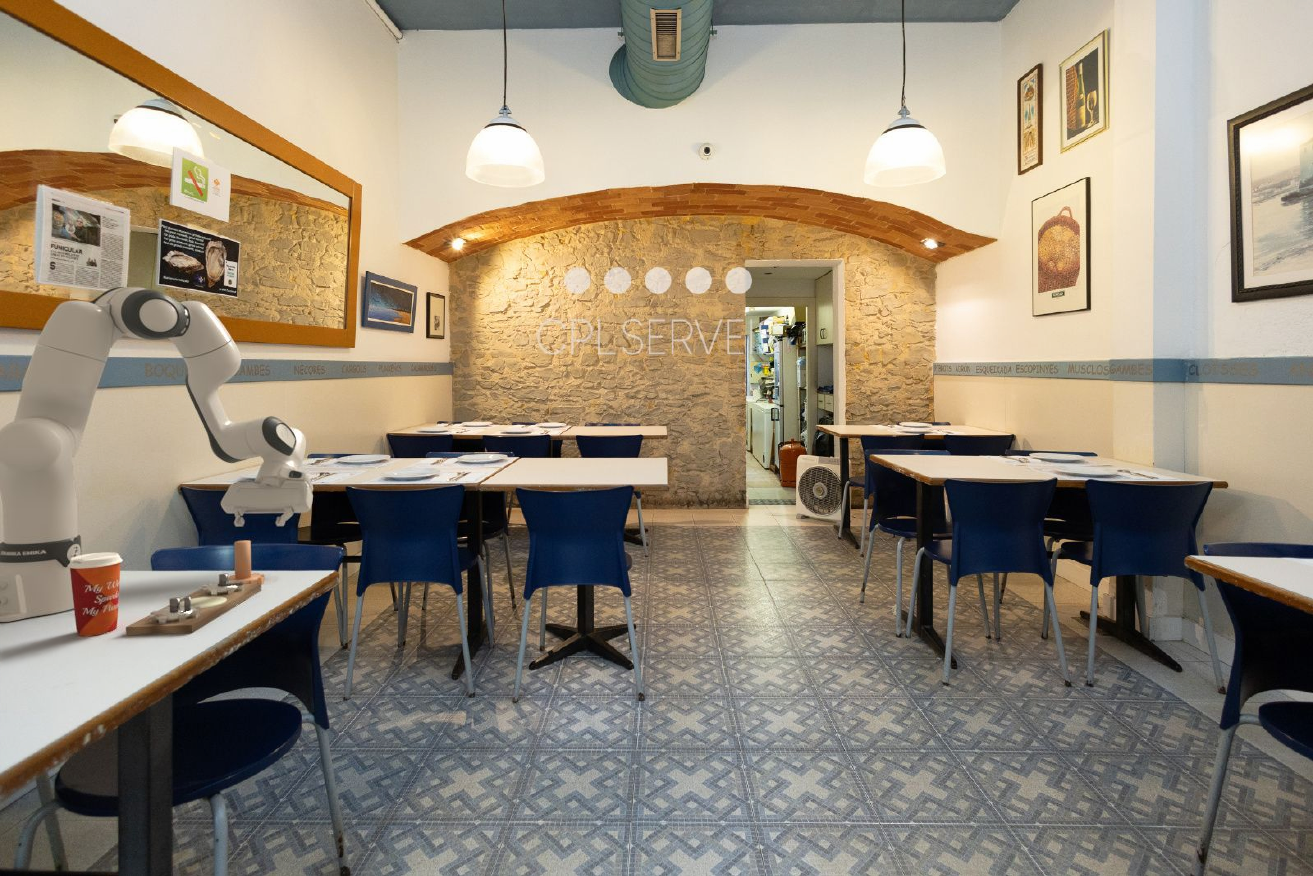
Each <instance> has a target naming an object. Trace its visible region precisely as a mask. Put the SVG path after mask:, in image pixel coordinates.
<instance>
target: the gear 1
mask: <svg viewBox="0 0 1313 876" xmlns="http://www.w3.org/2000/svg"><path fill="white" fill-rule="evenodd" d="M183 598H184V605H183V606H180V599H181V597H171V598H169V605H170V607H166V606H165V608H164V607H163V608H164V609H163V608H161V609H162V610H161V609H159V610H153V611H151V612H150V613H149V615H148V616H149V622H150V623H154V622H158V623H159V624H167V623H170V622H183V621H186V619H190V618H196V617H198V616H199V613H200V606H194V607H193V606H191V597H186V596H184V597H183Z"/></svg>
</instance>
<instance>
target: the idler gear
mask: <svg viewBox="0 0 1313 876" xmlns="http://www.w3.org/2000/svg"><path fill="white" fill-rule="evenodd" d="M251 543H252V541H251V540H237V541H234V543H233V545H234V574H233V575H230V576H228V581H235V582H241V581H243V582H245V584H261V585H263V584H264V583H265V574H260V573H258V572H254V573H252V549H251V548H252V547H251ZM263 582H264V583H263ZM262 583H263V584H262Z"/></svg>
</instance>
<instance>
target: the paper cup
mask: <svg viewBox="0 0 1313 876" xmlns="http://www.w3.org/2000/svg"><path fill="white" fill-rule="evenodd" d="M122 562H123V559H122V558H121V555H120V554H119V553H118V552H109V551H107V552H106V551H105V552H104V551H103V552H94V553H86V554H85V553H84V554H81V555H80V556H76V557H73V558H71V560H70V564H68V566H67V567H68V568H70V574H71V583H72V593H73V603H74V608H73V610H74V620H75V621H74V622H75V627H76V635H77V636H79V637H94V636H95V637H96V636H100V635H105V634H108V633H107V632H109V633H111V631H112V632H114V631H116V630H117V628H118V617H119V599H120V579H121V577H120V576H121V563H122ZM115 629H116V630H115ZM113 630H114V631H113ZM104 633H105V634H104Z"/></svg>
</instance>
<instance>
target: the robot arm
mask: <svg viewBox="0 0 1313 876" xmlns="http://www.w3.org/2000/svg"><path fill="white" fill-rule="evenodd" d="M125 336H126V337H129V338H132V339H137V340H139V339H140V340H149V341H159V340H165V339H168V340H170V341H171V343H172V344H173V345H175V348H176V349H177V351H178V353H179V354H180V355H181V357H182V359H183V361H184V362H185V365H186V367H187V372H188V373H187V374H186V376H185V378H184V379H185V386H186V390H187V393H188V394H189V395H188V396H189V398H190V399H191V402H192V403H193V406H194V408H195V411H196V413H197V415H198V417H199V419H200V421H201V422H202V425H203V427H204V431H206V434H207V437H208V442H209V445H210V449H211V451H212V452H213V454H214V455H215V456H216V458H218V459H219V460H221V461H223V462H225V463H227V464H237V463H239V462H242V461H246V460H248V459H254V458H259V457H261V458H262V459H263V462H262V464H261V465H260V467H259V469H258V472H257V474H256V477H255V480H238V481H236V482H234V483H231V484H230V485H229V487H228V489H227V491H226V492H225V494H224V495H223V497H222V499H221V501H220V505H221V508H222V509H223V511H224V512H225V513H226V514H234V517H235V519H234V521H233V524H234V526H235V527H244V525H245V519H244V517H243V516H244V514H282V515H281V516H277V517H276V520H275V525H276V527H284V526H285V524H286V521H288V520H289V519H290V518H291V517H293V515H294V514H305V513H307V512H309V511H310V510H311V508H312V504H313V498H314V495H313V493H312V492H313V491H314V486H313V482H312V480H311V478H310V477H309V475H308V474H307V473H306V472H304V471H300V470H299V469H300V467H301V466H302V464H303V461H304V458H305V454H306V449H307V437H306V436H305V434H304V433H303V432H302V431H301V430H299V429H298V428H295V427H291V426H288V424H286V423H285V421H283V420H281V419H280V418H278V417H276V416H274V415H273V416H272V415H271V416H263V417H260V418H258V417H257V418H254V419H250V420H246V421H240V422H234V421H231V420H230V419H229V418H228V416H227V413H226V411H225V409H224V406H223V405H222V402H221V400H220V397H219V395H218V390H219V387H221V386H222V385H224V384H226V383H227V382H228V381H229V380H231V378H233V377H234V376H235V375H236V374H237V373H238V371H239V370H240V367H241V364H242V355H241V351H240V349H239V347H238V346H237V344H236V343H235V340H234V339H233V338H232V336H231V334H230V333H229V331H228V330H227V328H226V326H225V325H224V324H223V322H222V321H221V320H220V319H219V318H218V316H217V315H216V314H215V313H214V312H213V310H211V309H210V308H209V306H207V305H206V304H205V303H203V302H201V301H197V300H186V301H184V300H183V301H181V302H179V301H178V300H176V299H174V298H173V297H171V296H170V295H168V294H167V293H164V292H162V291H159V290H155V289H150V288H149V289H148V288H145V287H139V286H120V287H119V286H118V287H113V288H111V289H109V290H108V289H107V290H106V291H105V292H103V293H102V294H100V295H98V296H97V297H96V298H94V299H93V300H91V301H90V302H89V301H84V300H67V301H63V302H61V303H59V305H58V306H57V307H56V308H55V309H54V311H53V313H52V314H51V315H50V316H49V318H48V320H47V321H46V323H45V325H44V327H43V329H42V331H41V333H40V335H39V337H38V339H37V342H36V345H35V347H34V350H33V353H32V356H31V358H30V361H29V364H28V367H27V370H26V372H25V375H24V377H23V379H22V384H21V385H22V386H21V392H20V396H19V400H18V405H17V409H16V413H15V416H14V420H13V421H11V422H9V423H8V424H5V425H4V426H3V427H2V428H0V497H1V505H2V506H1V509H2V527H3V528H2V530H3V531H2V532H3V533H2V534H3V536H2V537H3V541H1V542H0V623H7V622H8V623H9V622H13V621H19V620H23V619H24V620H25V619H27V618H33V617H38V616H45V615H51V614H55V613H56V614H57V613H61V612H65V611H69V610H74V603H73V593H72V583H71V574H70V568H68V567H67V566H68V564H70V560H71V558H73V557H76V556H80V555H82V552H83V551H82V538H81V537H82V536H81V535H80V534H79V525H78V524H79V523H78V522H79V521H78V518H79V516H78V496H77V492H76V486H75V484H76V483H75V476H74V466H73V459H74V457H75V456H76V454H77V453H78V451H79V448H80V445H81V443H82V439H83V436H84V433H85V429H86V426H87V423H88V421H89V419H88V418H89V415H90V412H91V409H92V405H93V401H94V398H95V395H96V393H97V390H98V386H99V383H100V381H101V378H102V375H103V372H104V369H105V366H106V364H107V362H108V358H109V355H110V351H111V348H112V347H113V346H114V344H115V343H116V342H117V341H118V340H119V339H120V338H122V337H125Z"/></svg>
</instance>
